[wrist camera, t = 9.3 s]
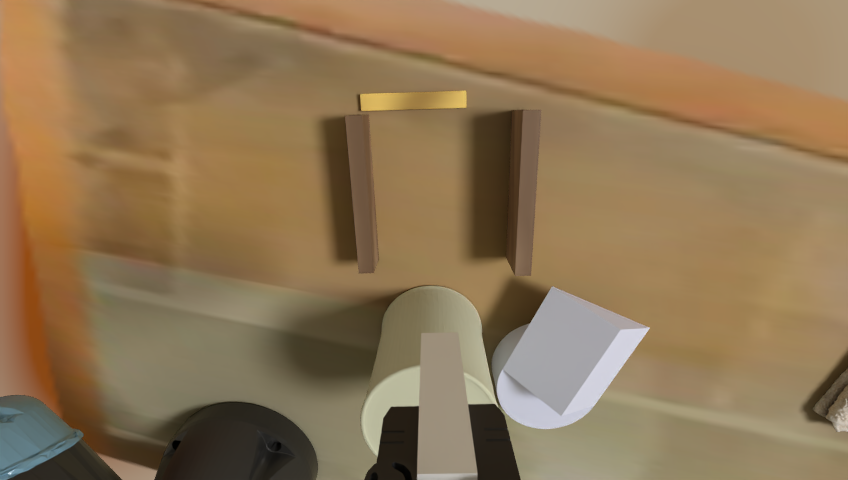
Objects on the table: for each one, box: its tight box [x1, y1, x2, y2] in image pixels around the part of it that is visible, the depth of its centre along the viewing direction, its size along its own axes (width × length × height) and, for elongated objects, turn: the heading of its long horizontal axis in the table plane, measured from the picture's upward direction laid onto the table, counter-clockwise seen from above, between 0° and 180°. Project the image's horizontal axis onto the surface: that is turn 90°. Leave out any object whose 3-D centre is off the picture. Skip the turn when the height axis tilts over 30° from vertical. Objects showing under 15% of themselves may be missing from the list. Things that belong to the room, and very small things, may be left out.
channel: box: [345, 91, 541, 276], centre depth 30 cm, size 13×14×4 cm
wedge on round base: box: [492, 286, 649, 429], centre depth 33 cm, size 9×7×13 cm
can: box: [360, 286, 499, 457], centre depth 31 cm, size 9×9×12 cm
